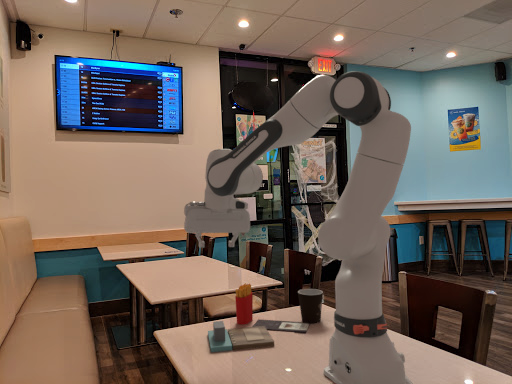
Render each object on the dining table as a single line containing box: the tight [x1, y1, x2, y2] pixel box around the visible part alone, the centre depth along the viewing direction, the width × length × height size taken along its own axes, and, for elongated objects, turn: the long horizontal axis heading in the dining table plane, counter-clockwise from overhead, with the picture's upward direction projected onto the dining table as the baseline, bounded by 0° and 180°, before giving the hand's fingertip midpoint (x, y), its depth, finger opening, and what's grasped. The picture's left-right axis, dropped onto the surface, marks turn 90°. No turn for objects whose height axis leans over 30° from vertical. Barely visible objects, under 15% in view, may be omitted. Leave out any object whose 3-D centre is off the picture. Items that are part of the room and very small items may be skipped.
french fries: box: [234, 283, 254, 326], centre depth 133 cm, size 9×4×13 cm, turn 156°
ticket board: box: [227, 326, 275, 351], centre depth 116 cm, size 14×12×2 cm
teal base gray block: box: [207, 320, 233, 353], centre depth 114 cm, size 14×6×5 cm, turn 11°
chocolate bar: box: [251, 319, 311, 334], centre depth 127 cm, size 9×1×18 cm
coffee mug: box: [297, 288, 324, 325], centre depth 134 cm, size 12×9×10 cm
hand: (216, 247), depth 117 cm, fingers open, 8 cm apart
